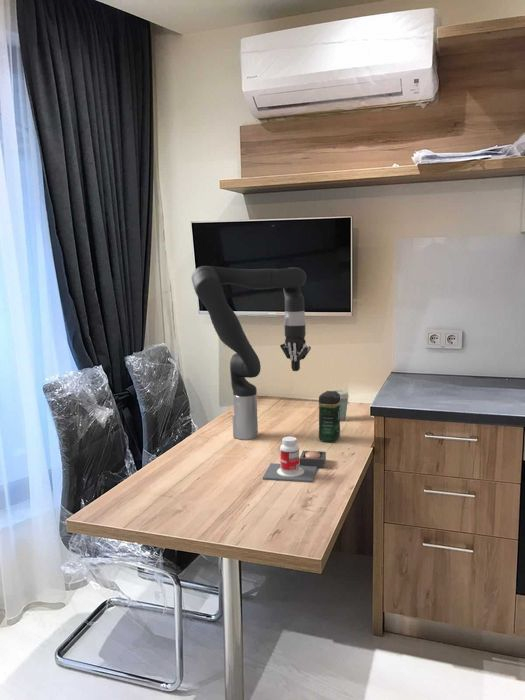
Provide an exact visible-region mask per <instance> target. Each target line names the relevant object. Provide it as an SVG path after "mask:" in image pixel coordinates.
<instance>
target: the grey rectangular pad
mask: <svg viewBox="0 0 525 700" xmlns="http://www.w3.org/2000/svg"><path fill="white" fill-rule="evenodd" d="M317 469H318V468H317V466H304V465H299V471H298V472H297V473H294V474H285V473H283V472H282V471H281V465H280V463H275V462H274V463H272V462H270V464H269V466H268V468H267V469H266V471H265V473H264V475H263V476H262V480H269V481H270V480H271V481H283V482H298V483H299V482H300V483H301V482H304V483H313V481H314V478H315V475H316V472H317Z"/></svg>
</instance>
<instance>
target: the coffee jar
mask: <svg viewBox="0 0 525 700" xmlns="http://www.w3.org/2000/svg"><path fill="white" fill-rule="evenodd" d="M340 438H341V421H340V394H339V393H337V392H336V391H335V390H326V391H324V392H323V393H321V394H320V395H319V396H318V440H319V441H322V442H325V443H333V442H335V443H336V442H337V441H339V439H340Z"/></svg>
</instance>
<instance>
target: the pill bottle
mask: <svg viewBox="0 0 525 700" xmlns="http://www.w3.org/2000/svg"><path fill="white" fill-rule="evenodd" d="M297 441H298V440H297V438H296V437H295V436H283V437H282V440H281V442H282V444H281V445H280V448H279V449H280V450H279V451H280V452H279V453H280V454H279V455H280V463H279V464H280V465H281V471H282V472H283V473H285V474H294V473H297V472H298V471H299V458H300V447H299V445H298V444H297V443H298V442H297Z"/></svg>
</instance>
